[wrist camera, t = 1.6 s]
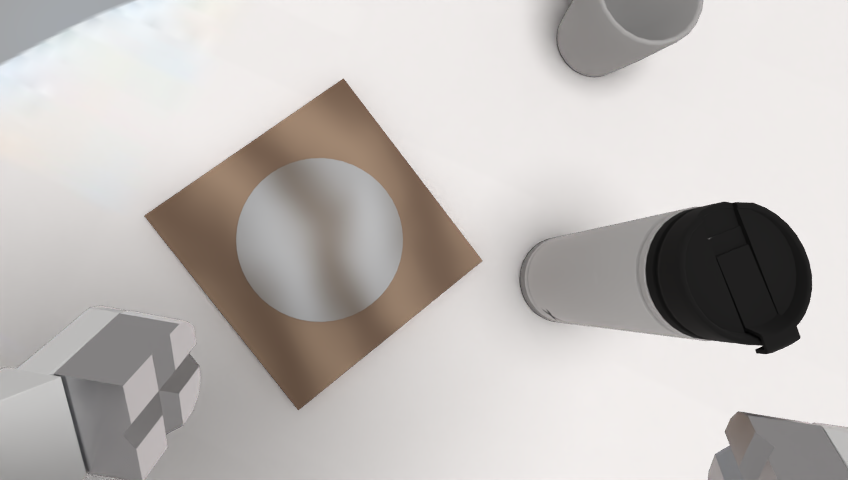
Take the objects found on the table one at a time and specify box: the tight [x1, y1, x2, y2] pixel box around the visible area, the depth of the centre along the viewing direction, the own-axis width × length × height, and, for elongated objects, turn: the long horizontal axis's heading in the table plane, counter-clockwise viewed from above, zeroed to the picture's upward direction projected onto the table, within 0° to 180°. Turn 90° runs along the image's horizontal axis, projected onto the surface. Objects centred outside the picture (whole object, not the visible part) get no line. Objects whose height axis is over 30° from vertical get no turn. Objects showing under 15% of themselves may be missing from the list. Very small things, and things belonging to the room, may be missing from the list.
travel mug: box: [520, 202, 812, 354], centre depth 34 cm, size 6×7×20 cm
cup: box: [557, 0, 703, 77], centre depth 42 cm, size 8×10×8 cm
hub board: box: [145, 79, 482, 410], centre depth 40 cm, size 16×16×1 cm
